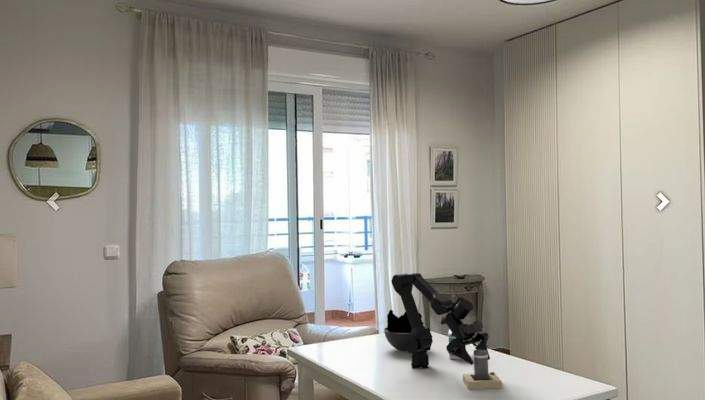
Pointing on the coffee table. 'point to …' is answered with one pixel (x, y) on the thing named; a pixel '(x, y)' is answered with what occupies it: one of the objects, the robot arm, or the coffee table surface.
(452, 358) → the light bulb box
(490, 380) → the tan square frame
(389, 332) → the coal bowl
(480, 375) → the canister
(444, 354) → the coffee table surface
